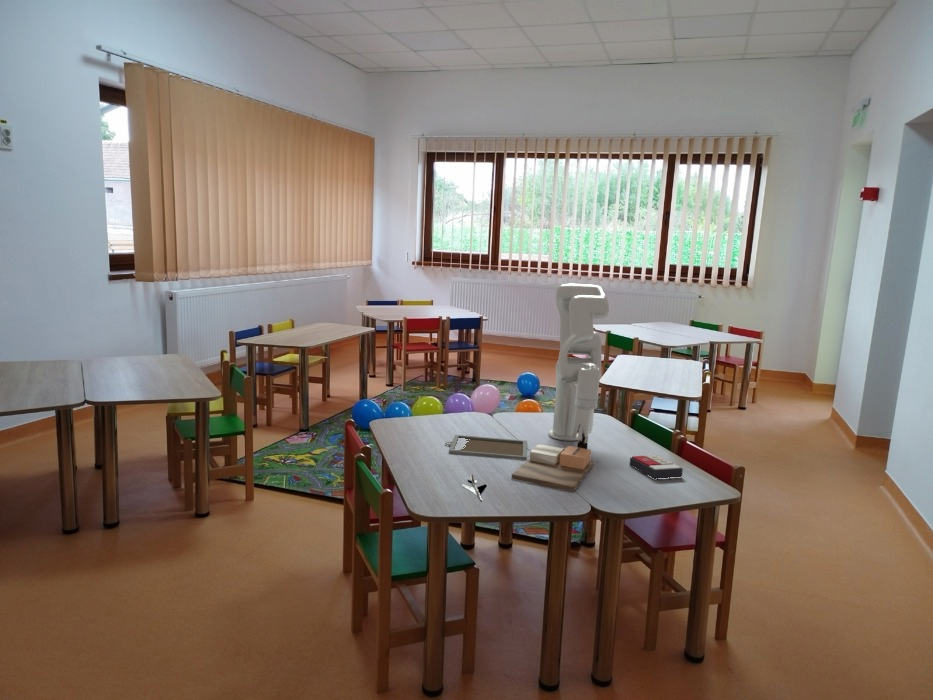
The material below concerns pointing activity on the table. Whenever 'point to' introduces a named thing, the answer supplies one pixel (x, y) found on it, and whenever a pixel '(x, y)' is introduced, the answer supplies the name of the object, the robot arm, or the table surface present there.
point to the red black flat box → (656, 466)
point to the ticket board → (550, 469)
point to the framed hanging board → (491, 447)
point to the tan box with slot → (575, 457)
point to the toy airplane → (475, 488)
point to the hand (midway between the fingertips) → (581, 453)
